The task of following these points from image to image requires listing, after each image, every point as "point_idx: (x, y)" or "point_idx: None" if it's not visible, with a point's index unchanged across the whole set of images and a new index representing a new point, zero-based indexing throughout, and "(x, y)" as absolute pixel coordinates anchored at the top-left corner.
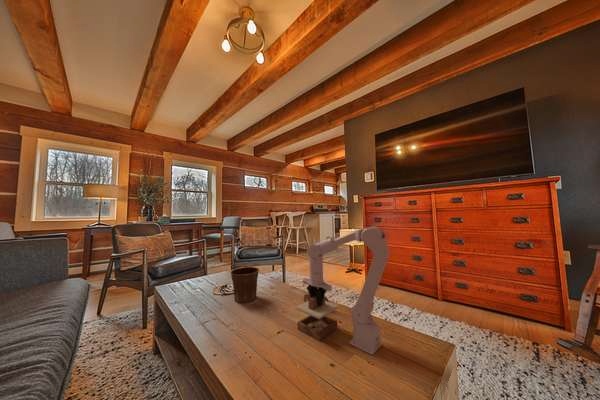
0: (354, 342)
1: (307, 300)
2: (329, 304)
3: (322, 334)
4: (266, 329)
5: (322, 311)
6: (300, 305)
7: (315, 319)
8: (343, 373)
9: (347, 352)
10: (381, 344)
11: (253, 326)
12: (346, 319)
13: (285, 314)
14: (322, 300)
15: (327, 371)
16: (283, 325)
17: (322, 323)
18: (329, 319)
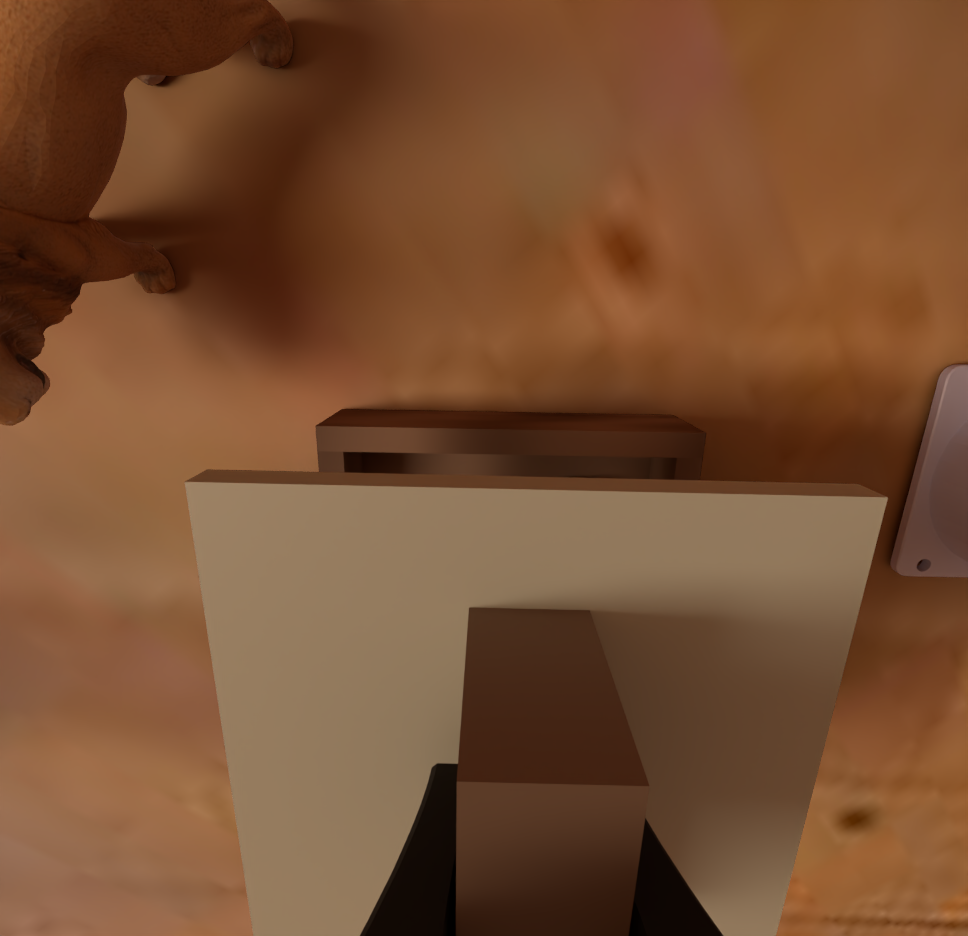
0: (959, 556)
1: (23, 418)
2: (679, 568)
3: None
4: (163, 838)
5: (717, 847)
6: (275, 896)
7: (370, 455)
8: (954, 832)
9: (911, 663)
10: None
11: (47, 872)
12: (666, 129)
13: (13, 568)
14: (659, 848)
15: (854, 873)
16: (206, 719)
17: (493, 471)
18: (587, 454)
